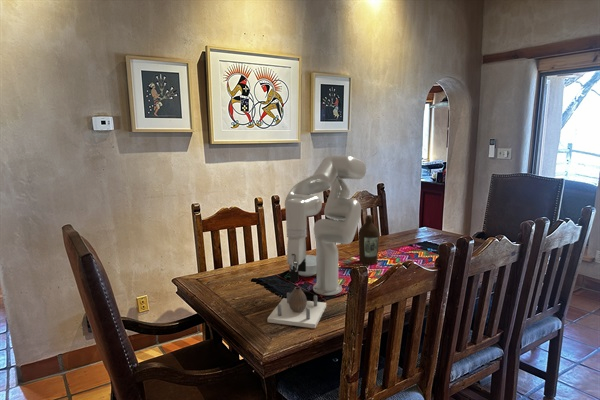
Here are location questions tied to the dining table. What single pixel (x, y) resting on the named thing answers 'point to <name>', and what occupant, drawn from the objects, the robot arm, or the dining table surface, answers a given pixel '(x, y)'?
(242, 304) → the dining table surface
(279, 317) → the stand
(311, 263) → the cereal bowl
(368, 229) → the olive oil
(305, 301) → the vase
